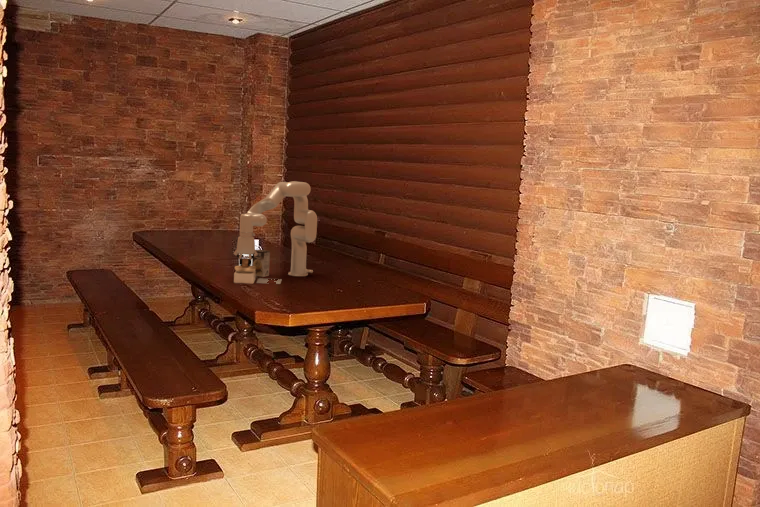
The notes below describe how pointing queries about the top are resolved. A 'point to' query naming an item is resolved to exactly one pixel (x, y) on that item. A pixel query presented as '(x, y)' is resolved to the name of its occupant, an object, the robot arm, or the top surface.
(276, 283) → the mat
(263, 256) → the coffee box
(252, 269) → the lid
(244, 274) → the small beige box
